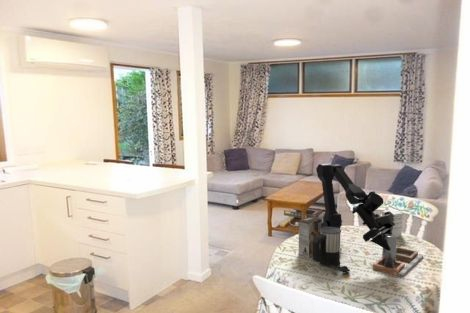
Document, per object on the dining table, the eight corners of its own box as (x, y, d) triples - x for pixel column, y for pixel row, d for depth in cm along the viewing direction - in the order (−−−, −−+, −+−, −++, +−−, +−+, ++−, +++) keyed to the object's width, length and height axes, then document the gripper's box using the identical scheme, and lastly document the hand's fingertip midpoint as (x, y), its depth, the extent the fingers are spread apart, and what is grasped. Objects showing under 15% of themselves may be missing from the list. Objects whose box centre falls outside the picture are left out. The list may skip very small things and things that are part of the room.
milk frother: (324, 257, 164) (325, 224, 162) (359, 266, 154) (360, 232, 152) (308, 267, 153) (309, 233, 151) (344, 278, 143) (345, 241, 141)
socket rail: (402, 277, 143) (402, 272, 143) (372, 268, 151) (372, 264, 151) (423, 257, 162) (423, 252, 162) (395, 250, 170) (395, 246, 170)
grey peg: (385, 268, 148) (387, 238, 147) (379, 263, 154) (380, 234, 152) (398, 267, 149) (399, 238, 147) (391, 262, 154) (392, 233, 153)
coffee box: (310, 249, 173) (311, 216, 171) (321, 253, 168) (322, 219, 166) (297, 254, 167) (298, 219, 166) (309, 258, 163) (309, 223, 161)
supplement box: (380, 234, 193) (381, 211, 192) (390, 232, 196) (391, 209, 195) (391, 238, 187) (392, 214, 185) (402, 236, 190) (403, 212, 188)
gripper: (371, 210, 145) (398, 244, 138) (391, 202, 157) (416, 232, 151) (352, 225, 151) (377, 258, 145) (373, 216, 164) (396, 246, 158)
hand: (392, 248), depth 149 cm, fingers open, 6 cm apart
